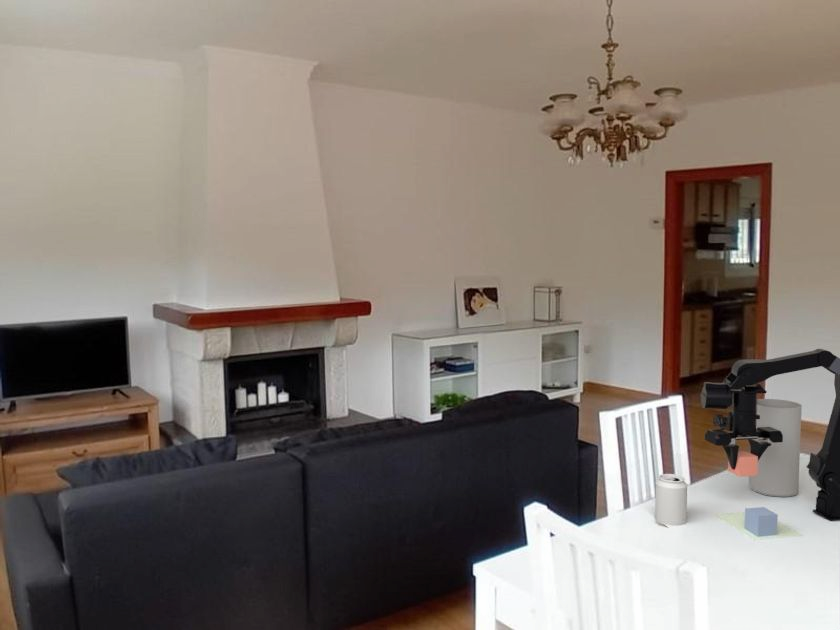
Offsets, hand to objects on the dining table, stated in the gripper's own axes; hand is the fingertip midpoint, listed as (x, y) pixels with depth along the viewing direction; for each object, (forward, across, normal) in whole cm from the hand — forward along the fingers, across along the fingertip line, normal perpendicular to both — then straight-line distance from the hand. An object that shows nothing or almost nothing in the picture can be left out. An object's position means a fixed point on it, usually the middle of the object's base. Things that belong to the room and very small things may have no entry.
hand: (742, 468), depth 181 cm
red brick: (+1, 0, 0) cm, 1 cm away
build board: (+12, +3, +11) cm, 16 cm away
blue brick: (+10, +5, +15) cm, 19 cm away
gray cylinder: (+12, -18, -13) cm, 26 cm away
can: (+12, +22, +4) cm, 26 cm away
